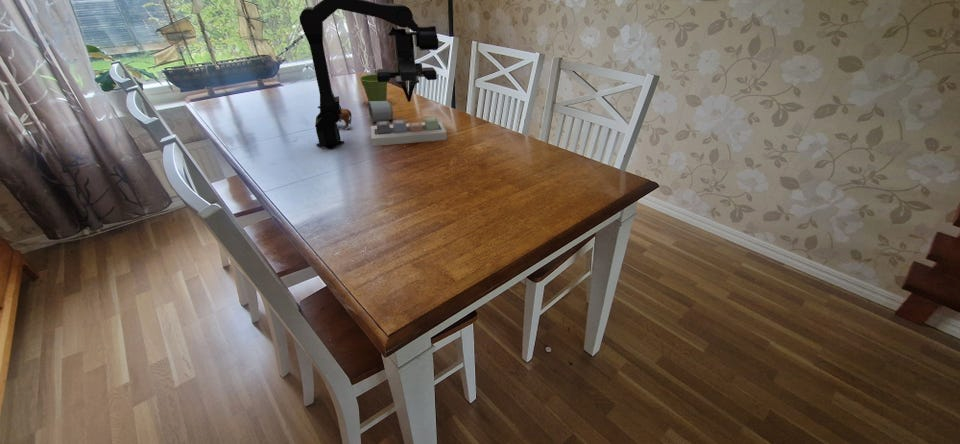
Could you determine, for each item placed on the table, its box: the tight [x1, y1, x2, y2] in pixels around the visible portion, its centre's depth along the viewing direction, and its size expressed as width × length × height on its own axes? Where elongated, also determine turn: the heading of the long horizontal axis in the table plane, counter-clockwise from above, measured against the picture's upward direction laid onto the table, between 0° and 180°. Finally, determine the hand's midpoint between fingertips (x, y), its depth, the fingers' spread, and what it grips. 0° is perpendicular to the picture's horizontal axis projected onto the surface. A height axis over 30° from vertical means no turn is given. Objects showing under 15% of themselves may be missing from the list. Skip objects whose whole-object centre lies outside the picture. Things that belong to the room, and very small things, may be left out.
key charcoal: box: [375, 120, 391, 134], centre depth 128 cm, size 4×4×3 cm
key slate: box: [392, 119, 407, 133], centre depth 129 cm, size 4×4×3 cm
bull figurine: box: [317, 105, 353, 131], centre depth 137 cm, size 4×13×8 cm, turn 71°
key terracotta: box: [409, 121, 423, 132], centre depth 131 cm, size 4×4×3 cm
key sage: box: [423, 116, 439, 130], centre depth 131 cm, size 4×4×3 cm
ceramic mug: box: [367, 101, 394, 123], centre depth 144 cm, size 11×8×8 cm
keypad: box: [370, 120, 448, 147], centre depth 131 cm, size 25×12×3 cm, turn 105°
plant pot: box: [359, 73, 388, 102], centre depth 159 cm, size 12×12×11 cm
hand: (409, 101), depth 125 cm, fingers closed
